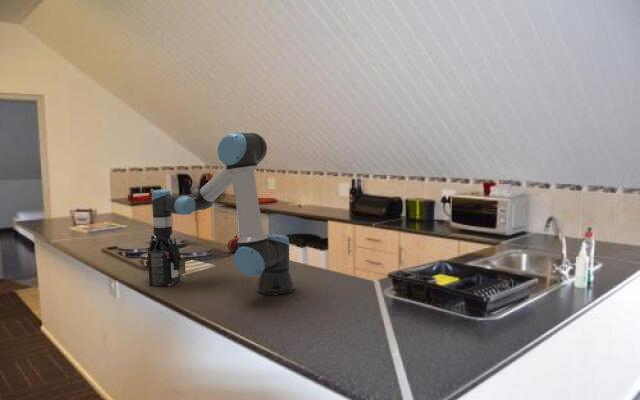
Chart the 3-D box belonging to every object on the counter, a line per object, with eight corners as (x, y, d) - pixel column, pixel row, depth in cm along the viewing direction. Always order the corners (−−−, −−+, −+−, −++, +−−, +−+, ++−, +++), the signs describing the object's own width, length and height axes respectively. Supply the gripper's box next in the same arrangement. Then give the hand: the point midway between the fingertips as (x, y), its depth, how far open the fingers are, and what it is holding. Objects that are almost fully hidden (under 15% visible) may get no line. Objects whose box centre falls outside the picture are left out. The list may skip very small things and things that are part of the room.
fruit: (242, 254, 262) (242, 236, 260) (225, 254, 263) (225, 236, 262) (247, 250, 271) (247, 233, 269) (231, 250, 272) (230, 232, 271)
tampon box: (168, 287, 206) (167, 253, 204) (148, 286, 208) (146, 252, 206) (181, 279, 217) (179, 247, 215) (161, 278, 219) (160, 246, 217)
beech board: (216, 266, 238) (216, 250, 237) (183, 276, 223) (182, 258, 221) (192, 261, 249) (191, 245, 248) (158, 269, 233) (158, 253, 232)
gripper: (188, 227, 205) (190, 277, 208) (152, 221, 220) (154, 267, 222) (173, 230, 199) (175, 281, 202) (137, 224, 214) (140, 271, 216)
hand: (164, 274), depth 212 cm, fingers open, 13 cm apart
